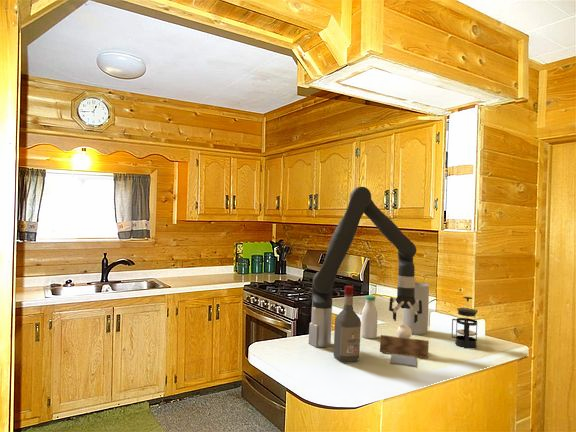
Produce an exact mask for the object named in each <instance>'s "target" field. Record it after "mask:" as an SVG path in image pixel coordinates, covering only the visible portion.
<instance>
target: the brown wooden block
mask: <svg viewBox="0 0 576 432" xmlns="http://www.w3.org/2000/svg"><path fill="white" fill-rule="evenodd" d="M379 339H380V343H379V352H381V354H385V355H386V354H393V355H401V356H408V357H417V358H420V359H423V360H427V359H428V358H429V340H426V339H418V338H411V337H410V338H403V337H399V336H393V335H385V334H384V335H383V334H380V338H379Z"/></svg>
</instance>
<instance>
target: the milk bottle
mask: <svg viewBox="0 0 576 432" xmlns="http://www.w3.org/2000/svg"><path fill="white" fill-rule="evenodd" d="M375 302H376V297H375V296H374V295H365V304H364V306H363V308H362V311H361V319H360V321H361V328H360V337H362V338H363V339H369V340H370V339H373V340H374V339H377V336H378V310H377V307H376V305H375Z"/></svg>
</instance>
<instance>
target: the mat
mask: <svg viewBox="0 0 576 432" xmlns="http://www.w3.org/2000/svg"><path fill="white" fill-rule="evenodd" d="M390 354H391V355H390V360H389V363H390V365H398V366H406V367H412V368H417V358H416V356H409V355H401V354H394V353H390Z"/></svg>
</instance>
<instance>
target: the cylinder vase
mask: <svg viewBox="0 0 576 432" xmlns="http://www.w3.org/2000/svg"><path fill="white" fill-rule="evenodd" d="M419 299H421V300H422V314H418V321H417V322H416V323H414V314H415V313H414V312H413V311H412V309H411V308H410V309H407V308H402V325H407V326H409V327H410V328H411V331H412V334H411V335H416V336H421V335H422V336H423V335H427V333H428V331H429V329H428V326H429V325H428V323H429V302H430V301H429V300H430V285H429V283H426V282H425V283H424V282H416V281H415V300H419ZM413 306H414V307H415V309H416V310H417V311H419V305H418V304H417V303H416V302H415V304H414V305H413Z"/></svg>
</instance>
